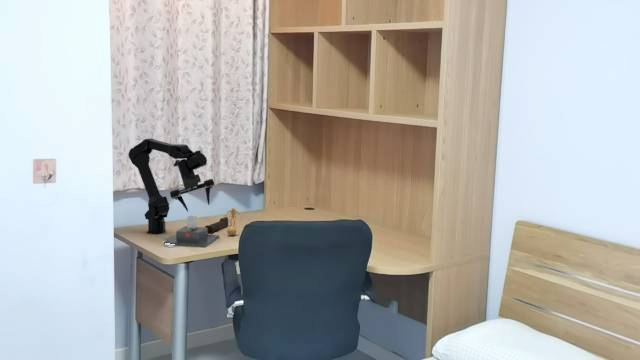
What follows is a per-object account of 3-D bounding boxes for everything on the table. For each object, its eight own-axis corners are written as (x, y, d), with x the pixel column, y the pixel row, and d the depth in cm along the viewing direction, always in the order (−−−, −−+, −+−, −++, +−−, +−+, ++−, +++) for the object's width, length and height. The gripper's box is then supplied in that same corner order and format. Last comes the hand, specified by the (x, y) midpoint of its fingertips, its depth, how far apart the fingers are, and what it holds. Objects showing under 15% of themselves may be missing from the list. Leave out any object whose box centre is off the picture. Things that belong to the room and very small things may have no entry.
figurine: (221, 236, 308) (221, 208, 306) (225, 233, 314) (225, 206, 312) (239, 237, 306) (239, 209, 304) (243, 234, 312) (243, 207, 310)
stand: (163, 244, 290) (163, 231, 290) (179, 235, 308) (179, 222, 307) (205, 247, 287) (205, 233, 286) (219, 237, 305) (219, 224, 304)
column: (187, 238, 296) (186, 217, 295) (189, 237, 299) (189, 215, 298) (194, 239, 296) (194, 217, 294) (197, 237, 299) (197, 216, 297)
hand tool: (212, 234, 311) (212, 224, 310) (204, 233, 312) (204, 223, 312) (233, 226, 328) (233, 216, 327) (225, 225, 330) (225, 216, 329)
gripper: (164, 177, 289) (175, 213, 288) (208, 163, 293) (220, 199, 292) (166, 180, 300) (177, 215, 299) (208, 167, 304) (219, 202, 302)
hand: (198, 208), depth 298 cm, fingers open, 9 cm apart
